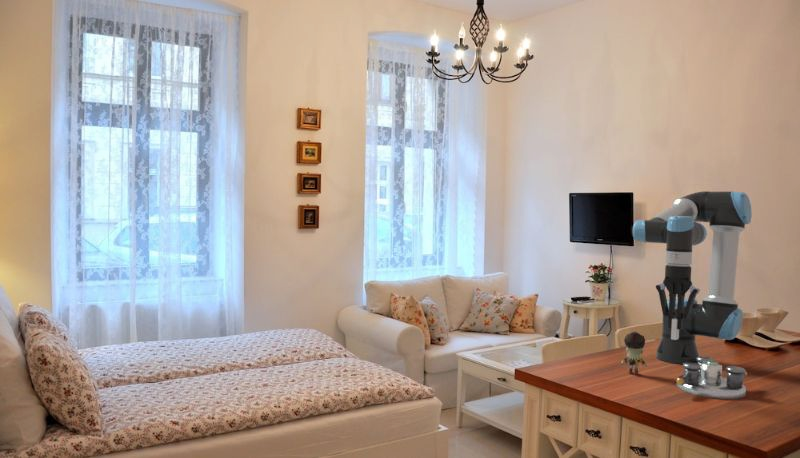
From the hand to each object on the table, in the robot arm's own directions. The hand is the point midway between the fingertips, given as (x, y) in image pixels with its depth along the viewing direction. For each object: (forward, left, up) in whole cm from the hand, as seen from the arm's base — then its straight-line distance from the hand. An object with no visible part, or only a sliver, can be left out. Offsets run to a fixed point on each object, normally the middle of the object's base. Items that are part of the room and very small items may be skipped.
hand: (674, 338), depth 199 cm
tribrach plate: (+8, +12, -17) cm, 22 cm away
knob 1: (+4, +2, -14) cm, 15 cm away
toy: (-17, +10, -17) cm, 26 cm away
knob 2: (+4, +22, -14) cm, 26 cm away
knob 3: (+15, +16, -14) cm, 26 cm away
